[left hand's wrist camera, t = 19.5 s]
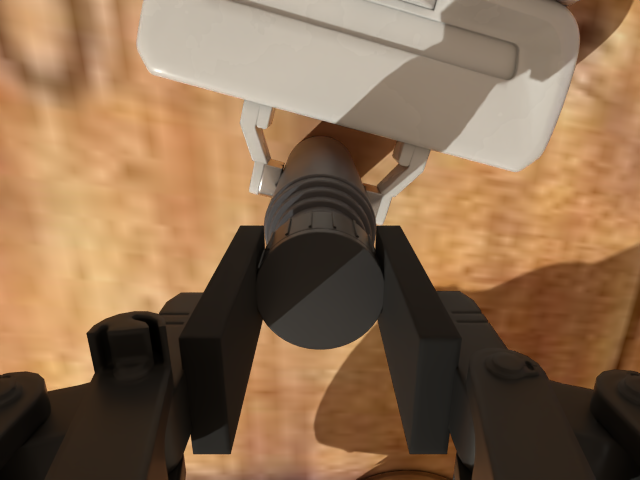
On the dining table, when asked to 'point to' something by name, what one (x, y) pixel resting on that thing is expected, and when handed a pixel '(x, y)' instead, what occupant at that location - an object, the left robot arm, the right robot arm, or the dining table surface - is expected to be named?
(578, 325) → the dining table surface
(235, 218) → the dining table surface
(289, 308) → the cap
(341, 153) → the bottle
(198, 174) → the dining table surface
